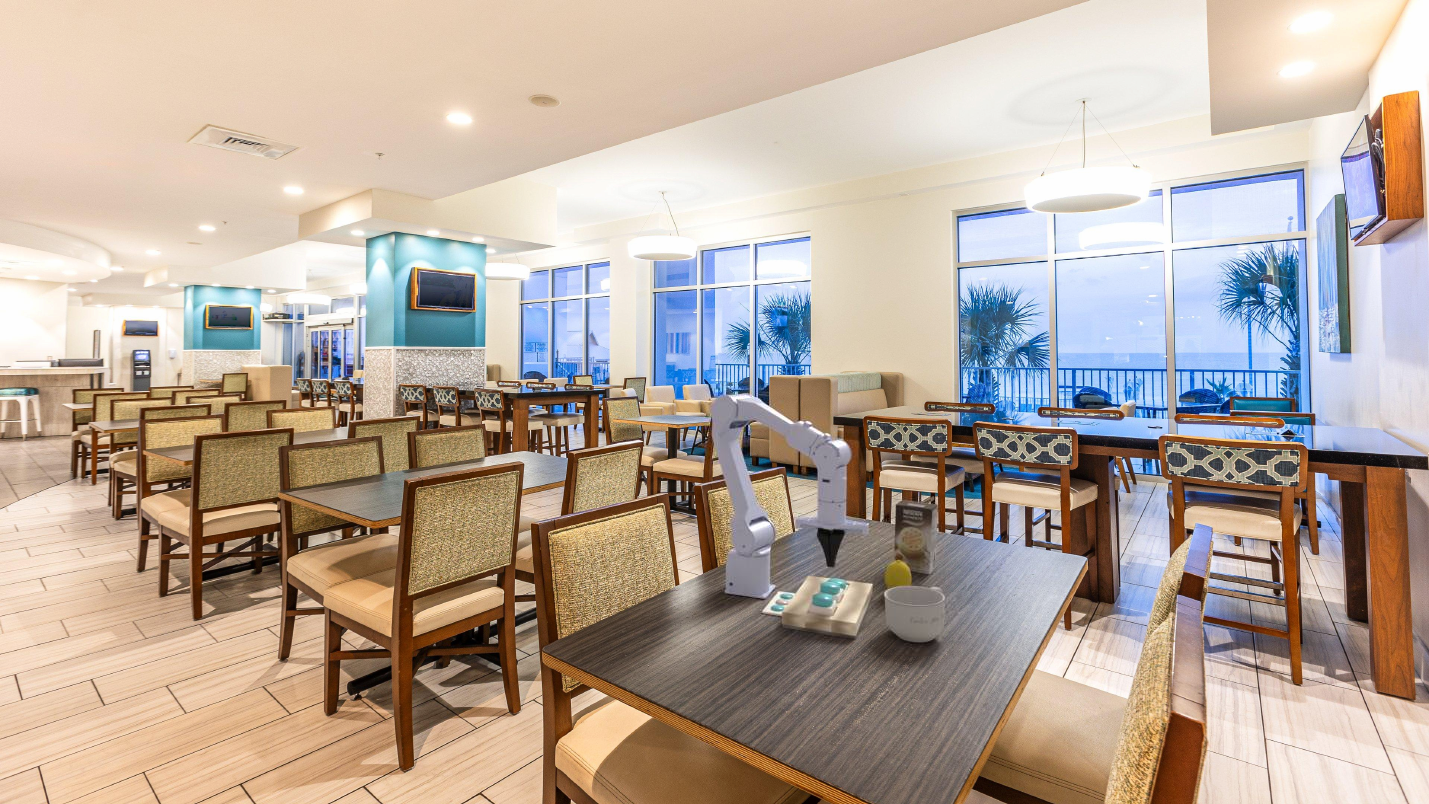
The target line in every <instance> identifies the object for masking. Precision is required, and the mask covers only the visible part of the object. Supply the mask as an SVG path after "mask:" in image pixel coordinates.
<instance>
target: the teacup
mask: <svg viewBox="0 0 1429 804" xmlns="http://www.w3.org/2000/svg"><path fill="white" fill-rule="evenodd" d="M883 597H884V605H885V607H884V608H885V612H884V613H885V620H886V623H887V626H888V628H889V629H890V631H891V632H892V633H893V634H895V635H896V636H897V637H898V638H899V639H901V640H903V641H906V642H911V643H926V642H927V643H928V642H930V641H932V640H934V639H936V637H937V636H939V635H940V634H941V633H942V632H943V630H944V628H945V617H946V616H945V614H946V613H945V611H946V610H945V601H946V597H945V595H944V593H943V590H942V589H941V588H940V587H938V586H932V587H930V588H929V587H925V586H920V585H919V586H917V585H911V586H900V587H894V588H890V589H888V588H887V589H886V590H885V591H884V593H883Z"/></svg>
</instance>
